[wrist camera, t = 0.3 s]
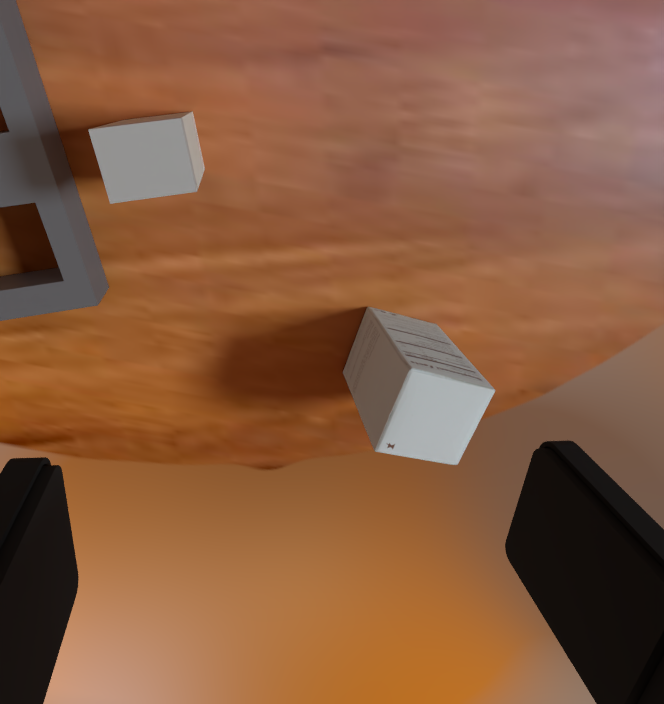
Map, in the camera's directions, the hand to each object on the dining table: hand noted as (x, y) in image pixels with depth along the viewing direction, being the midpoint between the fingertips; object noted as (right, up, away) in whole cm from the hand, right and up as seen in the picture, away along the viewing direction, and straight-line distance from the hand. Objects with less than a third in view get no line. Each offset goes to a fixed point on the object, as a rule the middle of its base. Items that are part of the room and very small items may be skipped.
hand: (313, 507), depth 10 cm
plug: (-12, +18, +28) cm, 36 cm away
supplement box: (+6, +4, +39) cm, 40 cm away
